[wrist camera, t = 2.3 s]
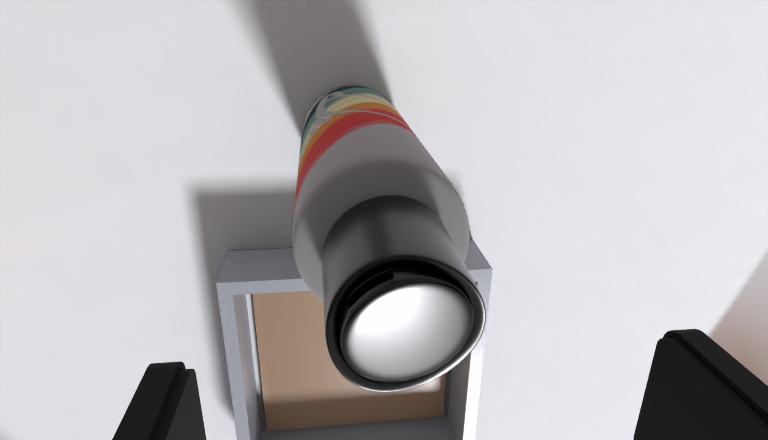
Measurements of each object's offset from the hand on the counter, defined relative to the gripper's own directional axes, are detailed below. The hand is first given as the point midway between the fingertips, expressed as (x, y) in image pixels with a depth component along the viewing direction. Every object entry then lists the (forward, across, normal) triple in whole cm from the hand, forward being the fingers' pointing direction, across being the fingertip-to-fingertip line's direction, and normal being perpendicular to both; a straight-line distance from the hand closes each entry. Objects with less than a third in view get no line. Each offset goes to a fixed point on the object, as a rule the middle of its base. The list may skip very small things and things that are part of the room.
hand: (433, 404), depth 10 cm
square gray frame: (+22, 0, +14) cm, 26 cm away
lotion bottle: (+22, 0, -1) cm, 22 cm away
